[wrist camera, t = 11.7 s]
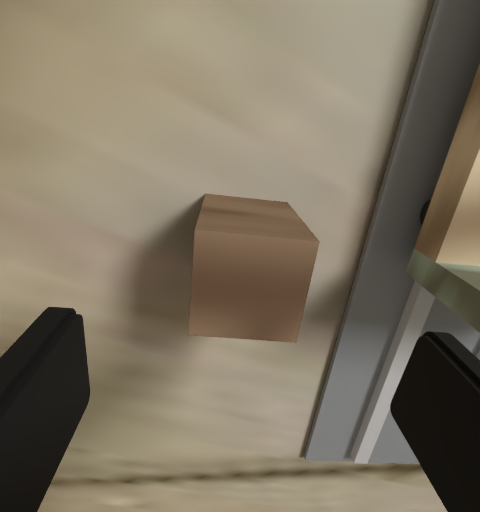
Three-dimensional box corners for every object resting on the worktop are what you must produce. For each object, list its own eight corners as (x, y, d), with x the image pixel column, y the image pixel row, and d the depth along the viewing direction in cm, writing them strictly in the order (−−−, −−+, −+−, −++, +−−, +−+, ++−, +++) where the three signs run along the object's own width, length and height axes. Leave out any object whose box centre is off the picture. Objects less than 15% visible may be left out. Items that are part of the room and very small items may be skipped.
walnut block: (274, 275, 21) (296, 342, 14) (199, 269, 20) (188, 335, 14) (287, 202, 19) (319, 241, 12) (205, 193, 18) (194, 229, 12)
